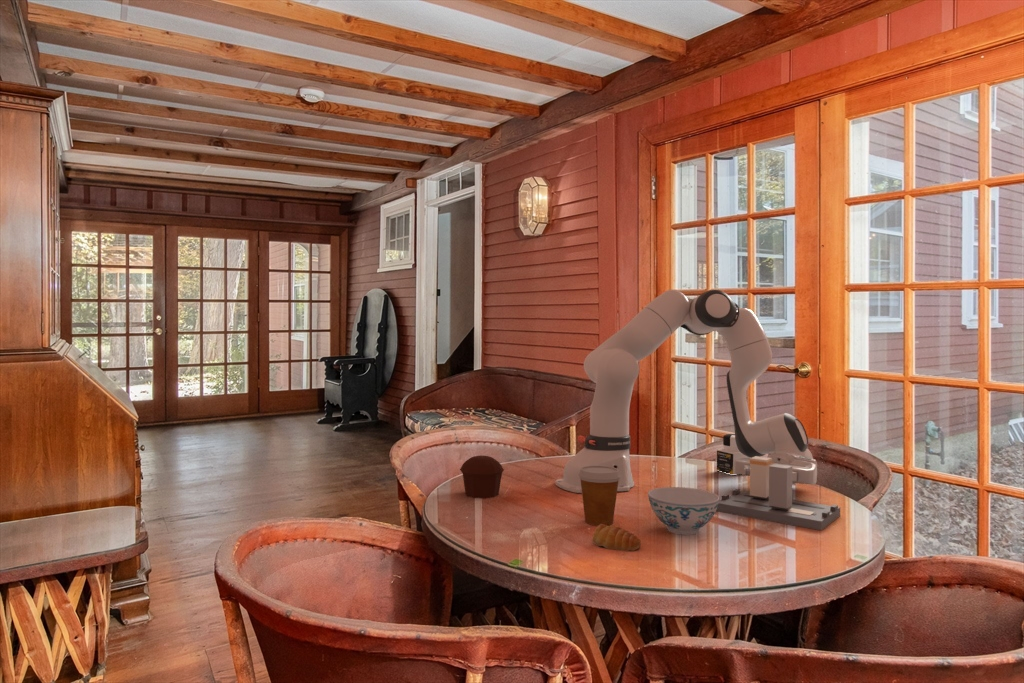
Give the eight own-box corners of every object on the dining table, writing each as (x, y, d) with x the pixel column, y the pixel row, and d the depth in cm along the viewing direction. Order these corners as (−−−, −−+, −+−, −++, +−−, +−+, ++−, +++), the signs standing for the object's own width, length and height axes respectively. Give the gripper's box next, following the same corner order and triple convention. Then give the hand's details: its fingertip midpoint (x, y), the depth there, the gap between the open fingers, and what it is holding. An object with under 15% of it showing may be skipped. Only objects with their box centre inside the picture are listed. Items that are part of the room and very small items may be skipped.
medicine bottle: (716, 471, 203) (716, 433, 203) (733, 469, 206) (733, 432, 206) (732, 476, 197) (733, 436, 197) (750, 474, 200) (750, 435, 200)
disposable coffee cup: (626, 520, 148) (626, 468, 148) (610, 530, 140) (611, 475, 140) (588, 514, 153) (588, 463, 153) (570, 523, 144) (571, 470, 144)
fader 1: (749, 497, 160) (749, 458, 160) (755, 494, 163) (755, 456, 163) (766, 500, 157) (766, 460, 157) (771, 497, 160) (772, 458, 160)
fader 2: (768, 508, 150) (769, 466, 150) (774, 504, 153) (774, 463, 153) (786, 511, 148) (787, 468, 148) (792, 507, 151) (792, 466, 151)
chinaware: (670, 543, 131) (670, 505, 131) (635, 523, 145) (636, 489, 145) (733, 537, 135) (733, 501, 135) (694, 518, 150) (694, 485, 150)
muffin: (510, 492, 174) (510, 455, 174) (492, 501, 164) (492, 462, 164) (471, 487, 179) (472, 451, 179) (451, 496, 169) (452, 458, 169)
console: (715, 510, 156) (715, 498, 156) (739, 498, 169) (739, 487, 169) (821, 530, 141) (822, 516, 141) (840, 515, 153) (840, 503, 153)
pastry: (646, 546, 130) (646, 527, 130) (632, 556, 124) (632, 536, 124) (603, 538, 135) (603, 519, 135) (589, 546, 129) (589, 528, 129)
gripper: (744, 450, 180) (724, 457, 169) (822, 460, 167) (807, 468, 156) (743, 473, 180) (724, 481, 169) (822, 484, 167) (806, 494, 156)
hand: (764, 475), depth 163 cm, fingers open, 8 cm apart
